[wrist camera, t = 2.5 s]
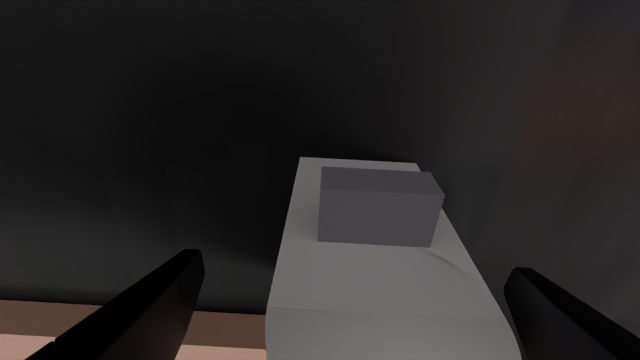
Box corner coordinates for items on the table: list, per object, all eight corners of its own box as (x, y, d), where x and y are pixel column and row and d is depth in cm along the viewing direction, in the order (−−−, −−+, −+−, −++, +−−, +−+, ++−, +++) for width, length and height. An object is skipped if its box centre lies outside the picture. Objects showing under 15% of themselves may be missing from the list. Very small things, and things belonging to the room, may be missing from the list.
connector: (424, 125, 9) (678, 425, 2) (390, 278, 12) (462, 596, 5) (300, 119, 9) (217, 398, 2) (298, 273, 12) (259, 581, 5)
